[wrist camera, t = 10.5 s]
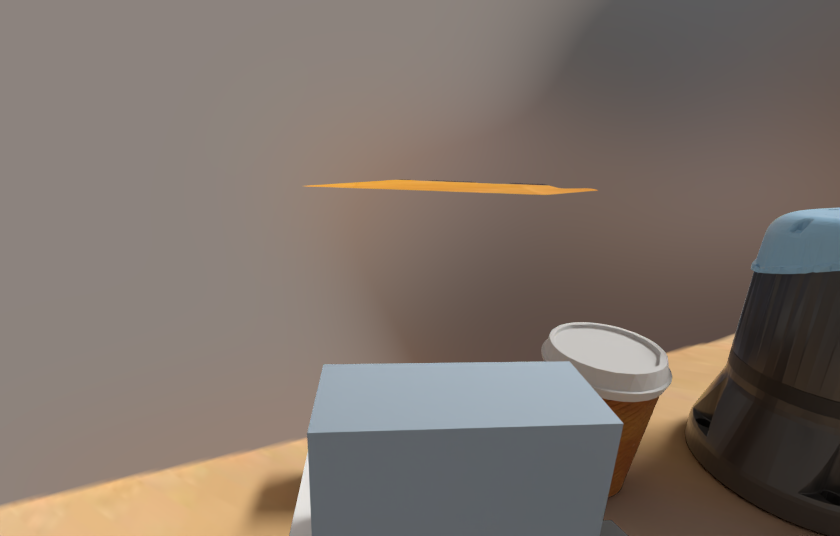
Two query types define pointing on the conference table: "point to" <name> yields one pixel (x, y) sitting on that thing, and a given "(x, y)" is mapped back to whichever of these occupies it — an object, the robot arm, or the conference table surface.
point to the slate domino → (459, 450)
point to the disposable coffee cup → (615, 377)
